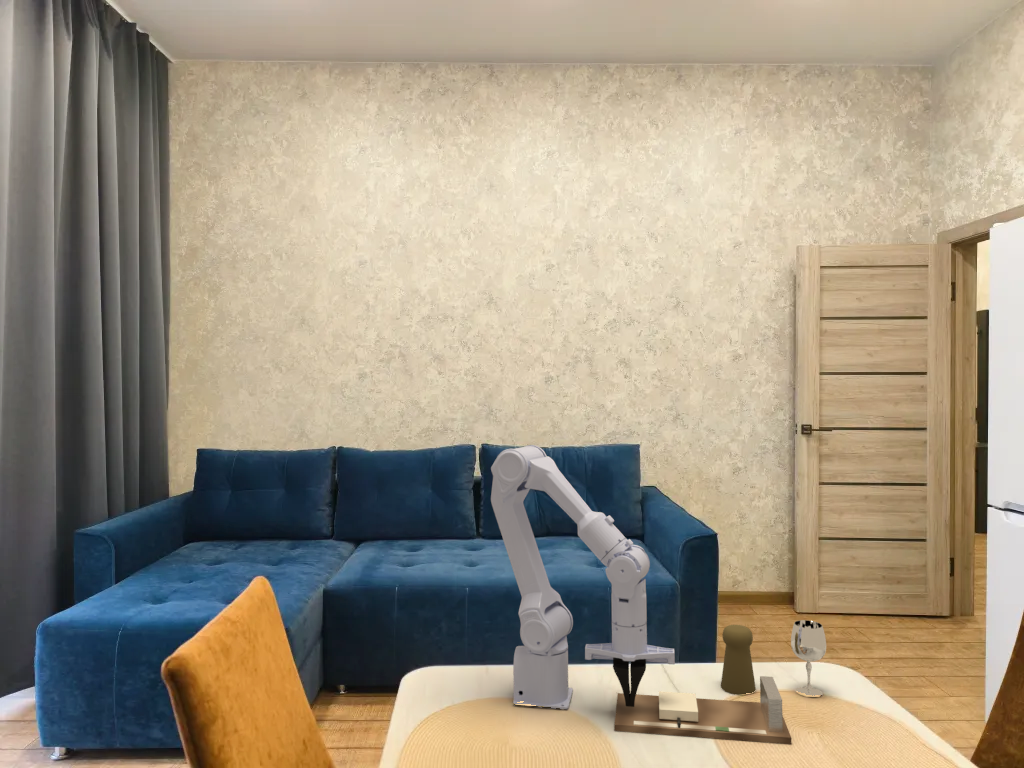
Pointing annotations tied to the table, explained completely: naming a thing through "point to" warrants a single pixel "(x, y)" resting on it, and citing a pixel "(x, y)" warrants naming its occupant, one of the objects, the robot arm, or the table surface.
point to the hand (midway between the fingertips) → (630, 704)
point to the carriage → (678, 706)
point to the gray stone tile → (771, 704)
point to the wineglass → (808, 648)
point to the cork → (737, 661)
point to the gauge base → (700, 720)
